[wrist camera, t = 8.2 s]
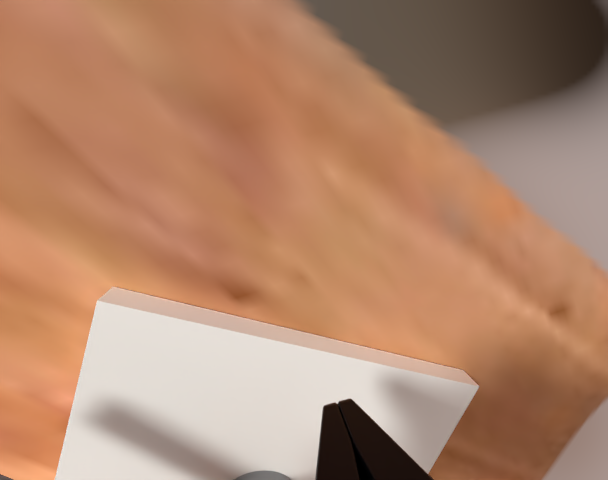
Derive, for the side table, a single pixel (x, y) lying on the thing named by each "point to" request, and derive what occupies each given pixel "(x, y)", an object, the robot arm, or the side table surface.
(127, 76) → the side table surface
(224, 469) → the base plate
